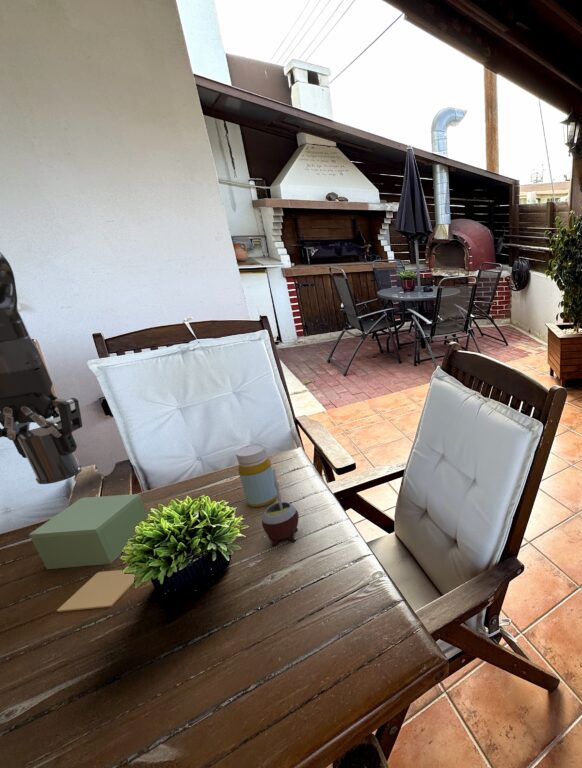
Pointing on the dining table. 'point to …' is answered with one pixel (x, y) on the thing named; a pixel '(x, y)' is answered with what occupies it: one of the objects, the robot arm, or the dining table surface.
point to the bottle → (256, 475)
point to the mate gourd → (280, 519)
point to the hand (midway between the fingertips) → (50, 454)
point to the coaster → (99, 591)
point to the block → (89, 531)
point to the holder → (47, 457)
